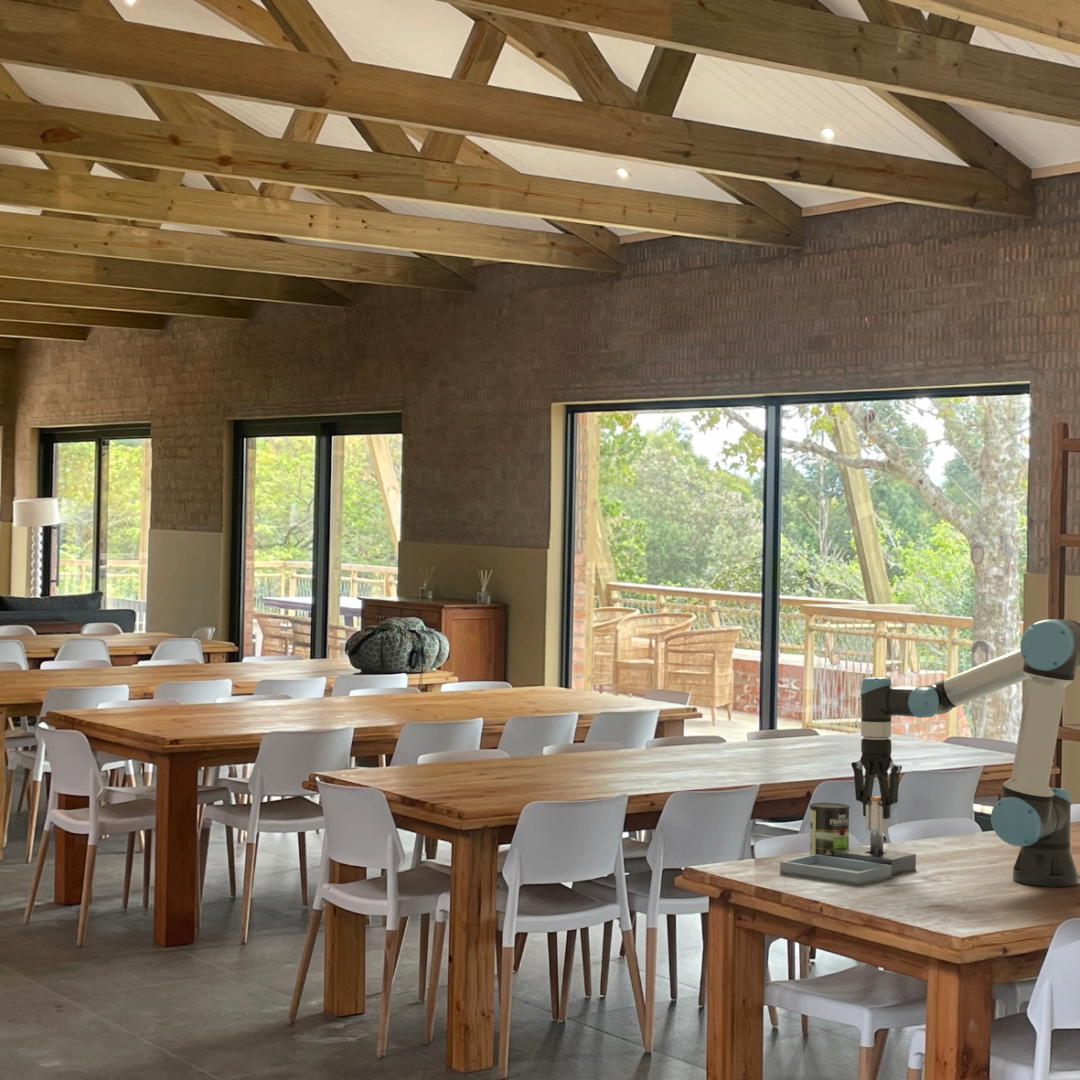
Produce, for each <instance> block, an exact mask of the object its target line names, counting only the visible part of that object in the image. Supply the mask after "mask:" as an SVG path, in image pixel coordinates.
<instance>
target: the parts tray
mask: <svg viewBox="0 0 1080 1080" xmlns="http://www.w3.org/2000/svg"><path fill="white" fill-rule="evenodd" d="M780 873H781V874H780ZM779 874H780V875H784V874H787V875H786V876H791V875H793V876H792V877H797V876H798V877H799V878H804V879H811V880H816V881H824V882H829V883H834V884H835V883H836V884H842V885H849V886H854V887H855V886H856V887H861V886H865V885H868V884H872V883H876V882H880V881H884V880H887V879H891V878H892V877H893V876H892V865H887V864H880V863H873V862H866V861H859V860H852V859H845V858H838V857H831V856H824V855H818V854H813V855H810V854H808V855H805V856H799V857H795V858H790V859H786V860H782V861H780V862H779Z"/></svg>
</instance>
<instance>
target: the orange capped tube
mask: <svg viewBox="0 0 1080 1080" xmlns="http://www.w3.org/2000/svg"><path fill="white" fill-rule="evenodd" d="M881 804H882V800H881V796H873V795H872V797H870V830H869V835H870V836H869V839H870V841H869V843H870V845H869V846H870V847H869V848H870V853H874V854H882V853H883V850H884V832H879V806H881Z"/></svg>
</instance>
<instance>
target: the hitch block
mask: <svg viewBox="0 0 1080 1080" xmlns="http://www.w3.org/2000/svg"><path fill="white" fill-rule="evenodd" d="M836 857H838V858H845V859H852V860H859V861H866V862H873V863H880V864H887V865H892V877H893V876H897V875H902V874H905V873H909V872H913V871H916V870H917V868H916V867H917V865H916V864H917V863H916V862H917V855H916V853H913V852H912V853H911V852H903V851H896V850H889V849H883V853H882V854H874V853H870V847H867V846H860V845H859V846H855V847H850V848H849V849H846V850H841V851H837V852H836Z"/></svg>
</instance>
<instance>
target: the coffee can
mask: <svg viewBox="0 0 1080 1080" xmlns="http://www.w3.org/2000/svg"><path fill="white" fill-rule="evenodd" d="M809 809H810V810H809V823H810V824H809V855H813V854H818V855H824V856H831V857H836V852H837V851H841V850H846V849H850V848H849V844H850V843H849V841H850V839H849V837H850V836H849V835H850V832H849V831H850V828H849V827H850V805H847V804H844V803H836V802H814V803H813V802H812V803H810V804H809Z"/></svg>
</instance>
